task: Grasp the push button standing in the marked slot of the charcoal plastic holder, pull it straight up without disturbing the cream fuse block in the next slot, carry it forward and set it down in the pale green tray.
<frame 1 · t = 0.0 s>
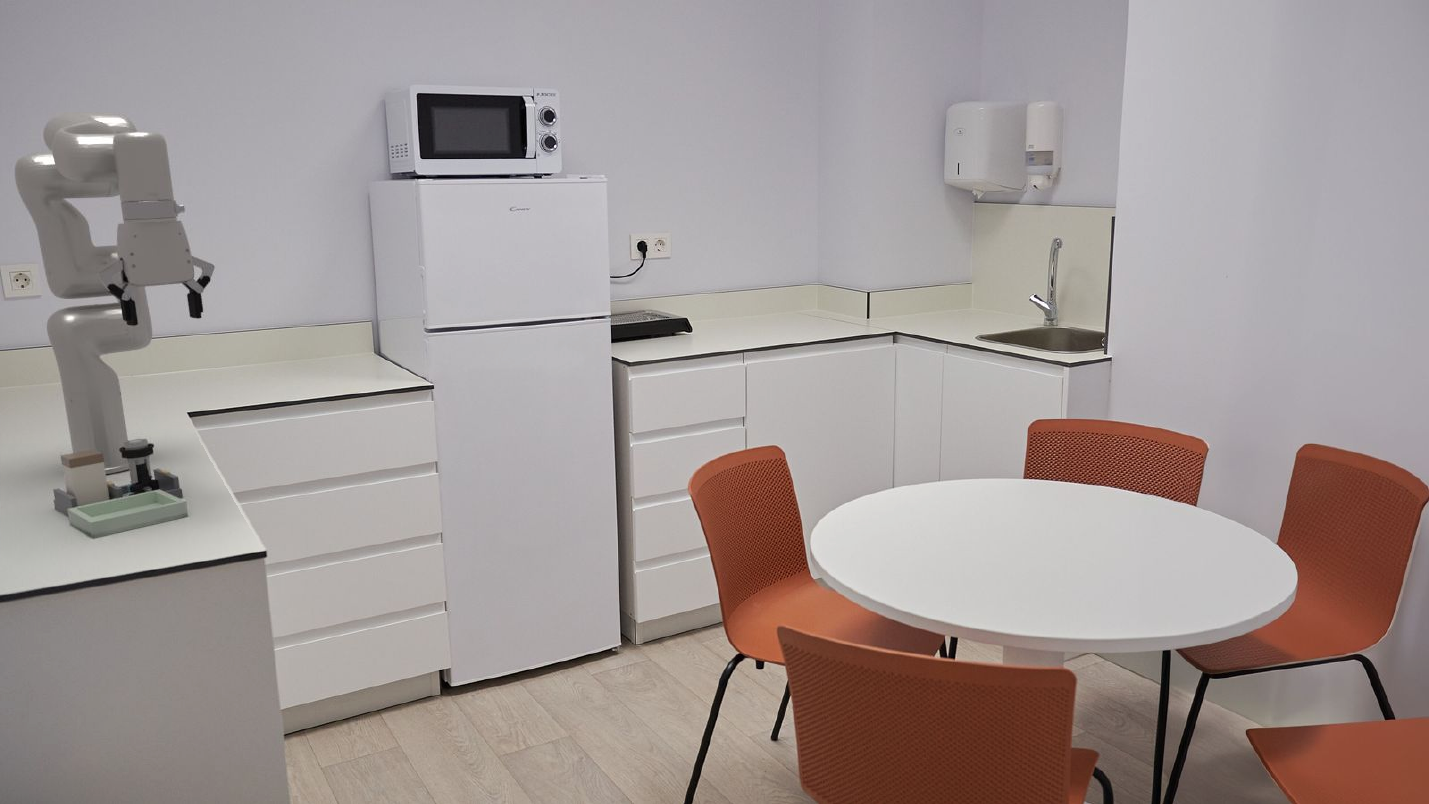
hand: (164, 321, 175), 31 cm above the table, tool pointing down, fingers open, 9 cm apart
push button: (141, 499, 190), resting in holder
cream fuse: (90, 509, 184), resting in holder
tray: (129, 520, 177), on the table
holder: (119, 502, 187), on the table
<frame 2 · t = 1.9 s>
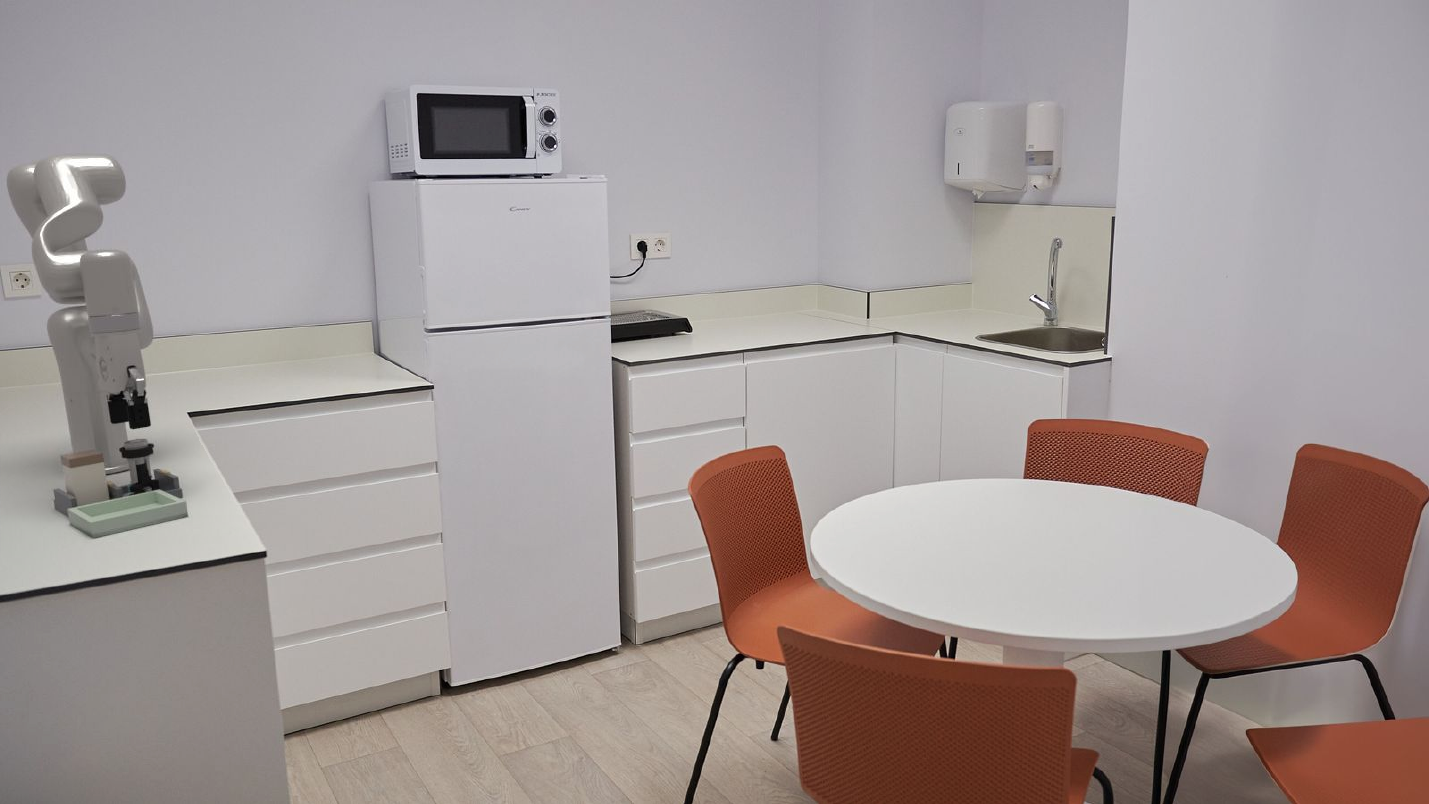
hand: (130, 425, 187), 13 cm above the table, tool pointing down, fingers open, 9 cm apart
nothing on the table moved.
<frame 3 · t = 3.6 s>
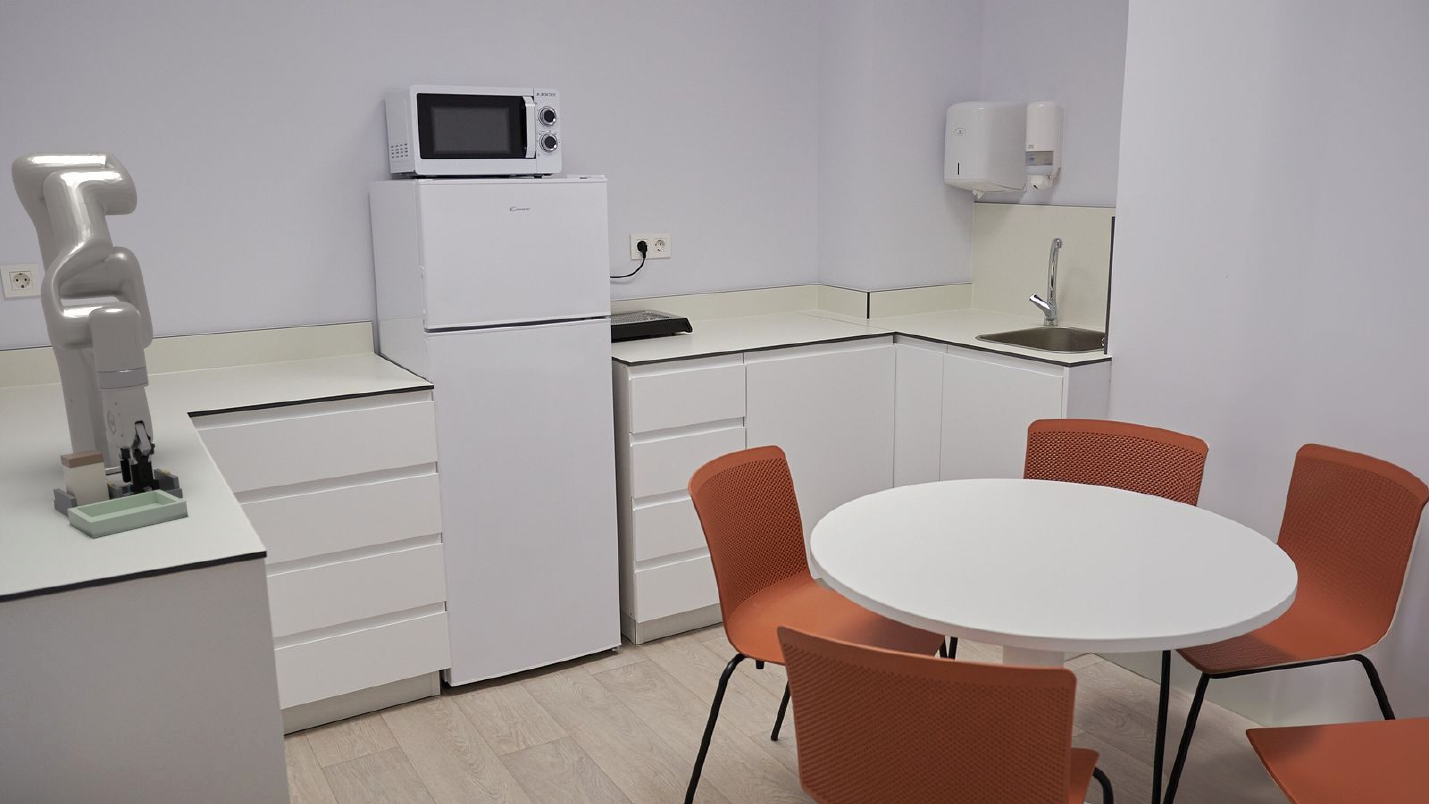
hand: (138, 482, 189), 3 cm above the table, tool pointing down, fingers closed on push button, 4 cm apart
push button: (141, 499, 190), resting in holder, touching gripper
everything else where it was.
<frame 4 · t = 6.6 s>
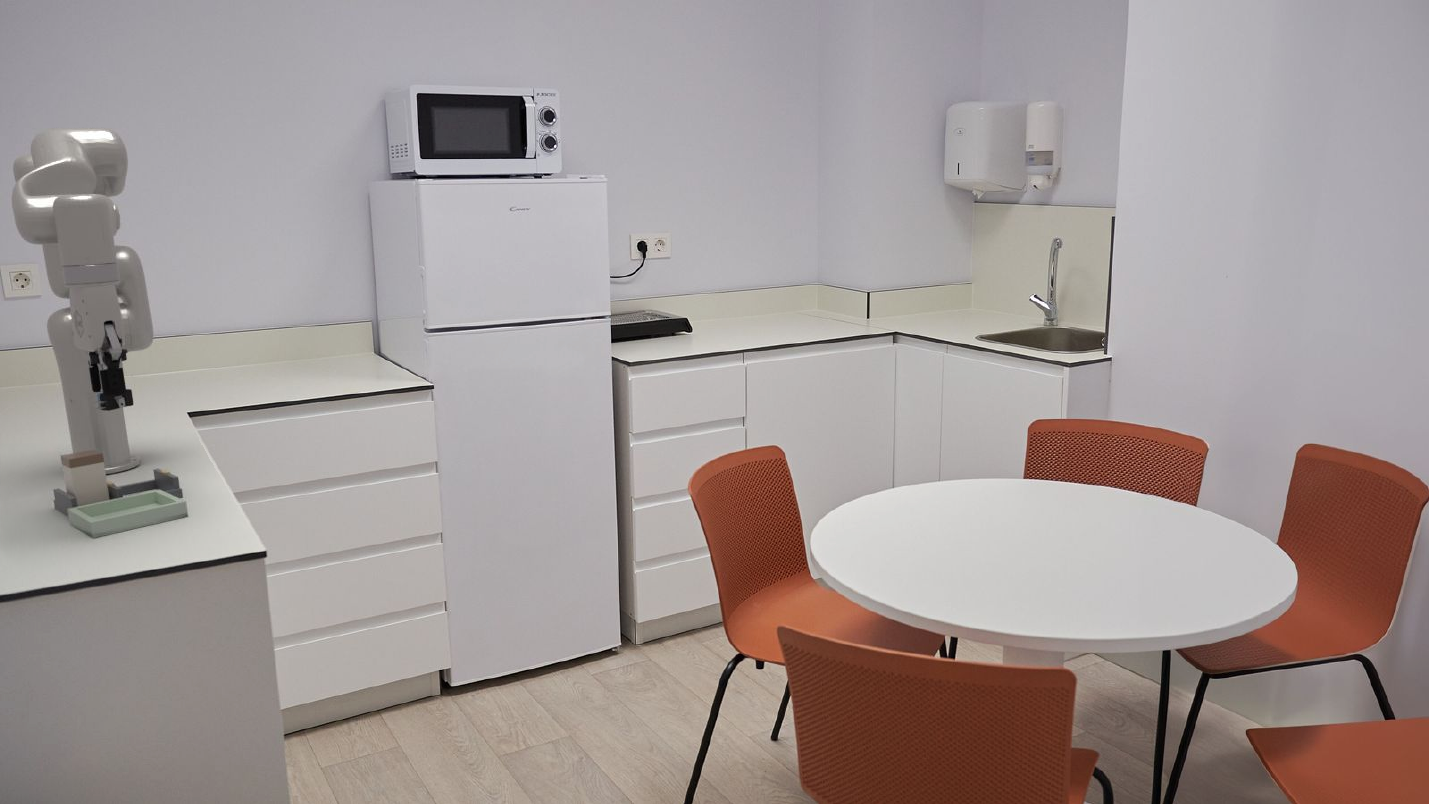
hand: (109, 391, 173), 21 cm above the table, tool pointing down, fingers closed on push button, 4 cm apart
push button: (112, 409, 173), point 18 cm above the table, touching gripper
everything else where it was.
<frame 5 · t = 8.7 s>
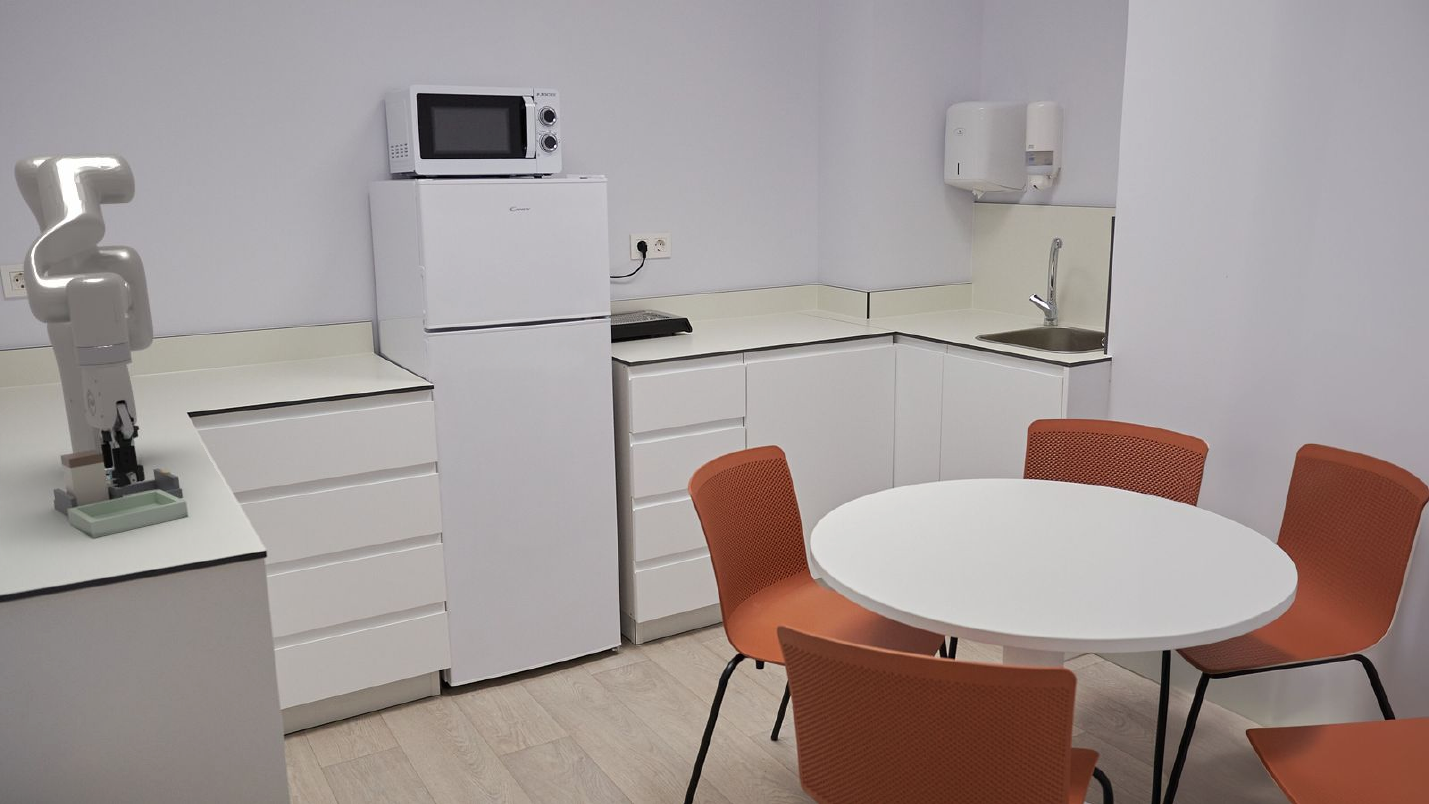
hand: (121, 467, 175), 9 cm above the table, tool pointing down, fingers closed on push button, 4 cm apart
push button: (124, 486, 175), point 6 cm above the table, touching gripper
everything else where it was.
when the fingers open (5 cm above the table, at t = 10.0 s): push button drops 1 cm, resting on tray.
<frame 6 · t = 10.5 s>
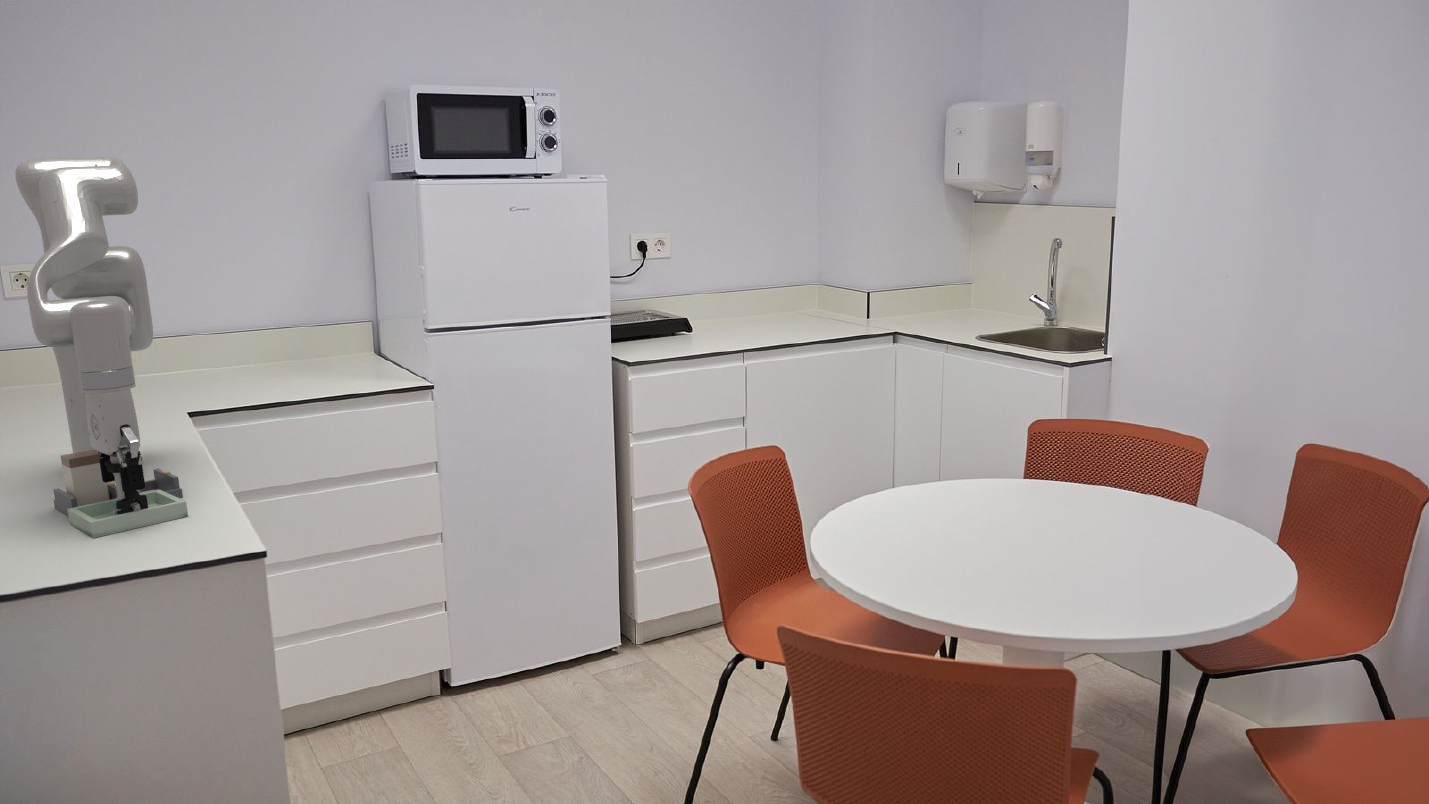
hand: (123, 485, 175), 6 cm above the table, tool pointing down, fingers open, 9 cm apart
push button: (128, 516, 177), resting on tray
everything else where it was.
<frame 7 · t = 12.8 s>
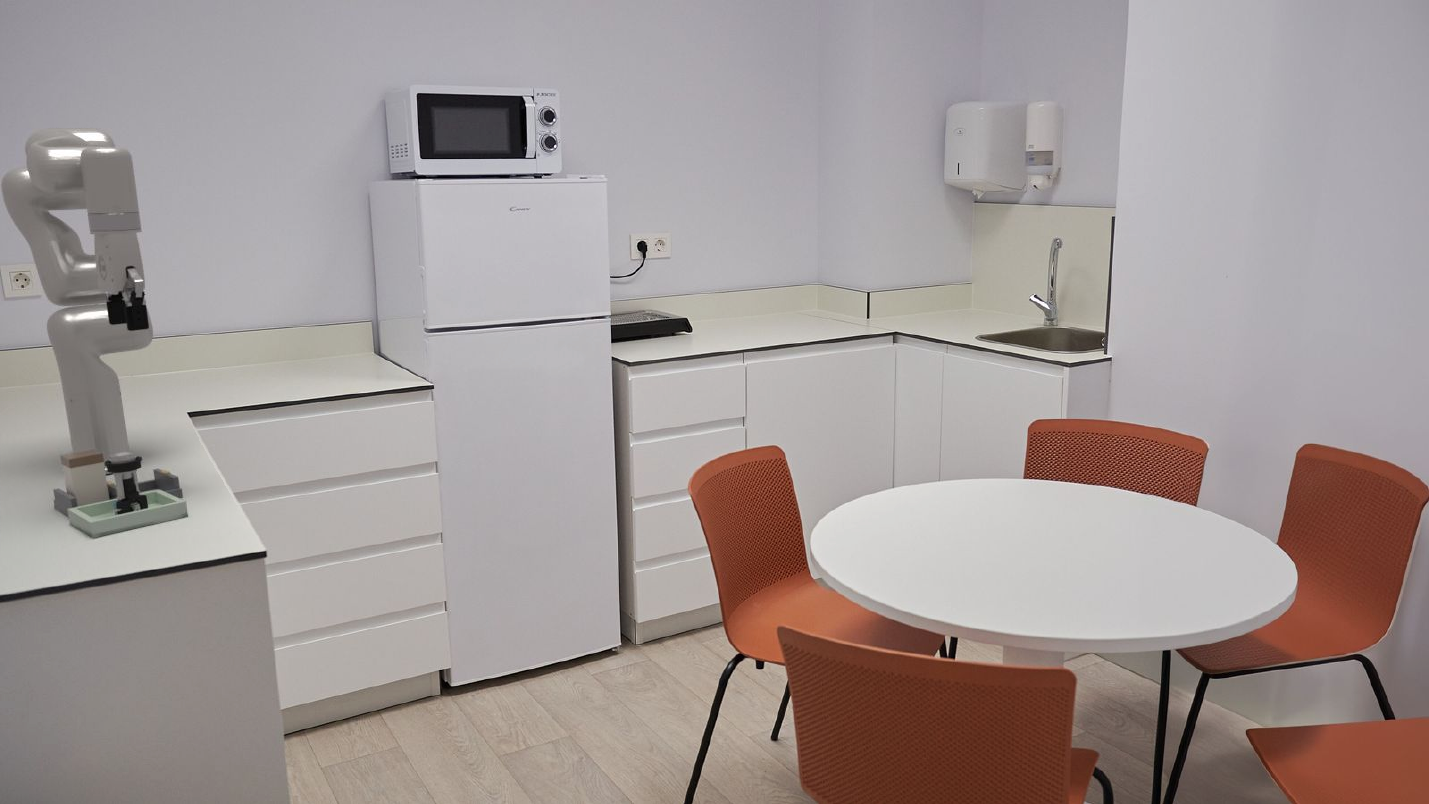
hand: (129, 326, 185), 30 cm above the table, tool pointing down, fingers open, 9 cm apart
nothing on the table moved.
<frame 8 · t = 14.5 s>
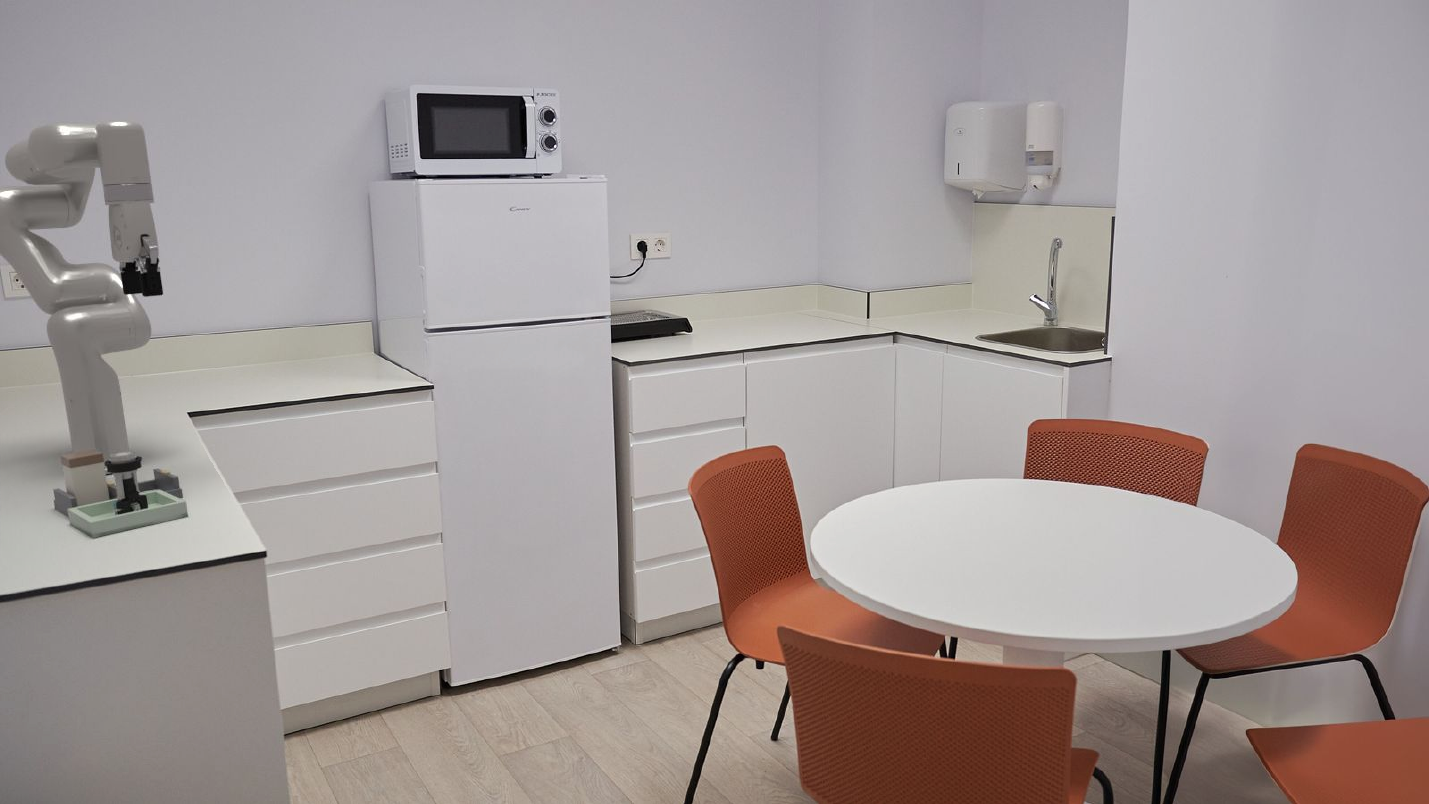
hand: (143, 294, 192), 34 cm above the table, tool pointing down, fingers open, 9 cm apart
nothing on the table moved.
at the end: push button inside the target area on the tray (0.9 cm from its centre), point 0.4 cm above the tray's base; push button tilted 0°; cream fuse moved 0.0 cm from its start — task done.
